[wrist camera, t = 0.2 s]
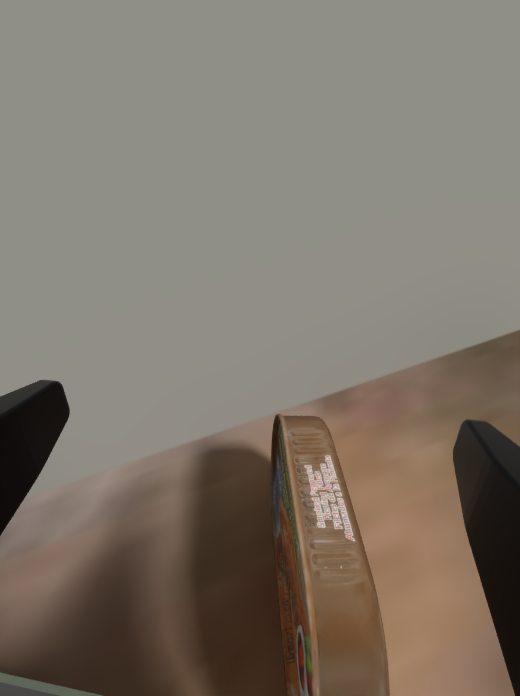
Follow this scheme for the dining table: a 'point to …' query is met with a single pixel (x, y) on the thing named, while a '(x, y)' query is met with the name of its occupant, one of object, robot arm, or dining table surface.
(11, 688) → the grey flat square frame
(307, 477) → the tin
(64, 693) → the circuit board
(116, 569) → the dining table surface
